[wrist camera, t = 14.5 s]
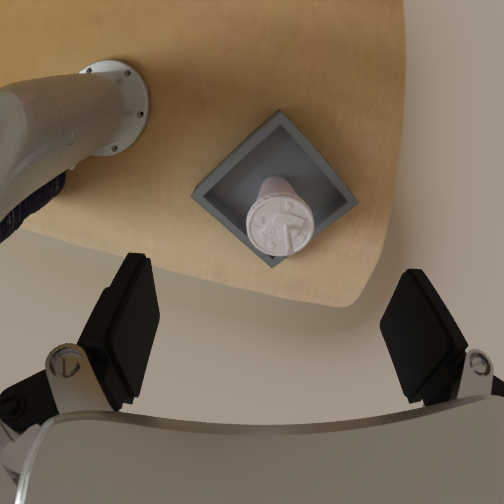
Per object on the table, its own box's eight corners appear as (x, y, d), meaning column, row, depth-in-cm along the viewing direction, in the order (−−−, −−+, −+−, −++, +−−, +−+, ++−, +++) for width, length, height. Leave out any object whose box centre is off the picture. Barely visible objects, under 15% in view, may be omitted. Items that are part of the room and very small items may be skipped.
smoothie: (309, 203, 36) (332, 271, 24) (261, 221, 37) (262, 294, 25) (290, 157, 32) (309, 206, 21) (240, 177, 34) (229, 236, 22)
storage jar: (20, 135, 30) (-50, 172, 18) (67, 138, 31) (-8, 179, 19) (24, 194, 35) (-36, 243, 23) (67, 203, 37) (7, 260, 24)
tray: (271, 255, 41) (271, 268, 38) (195, 187, 35) (190, 196, 33) (352, 193, 35) (359, 202, 33) (279, 109, 30) (281, 111, 27)
